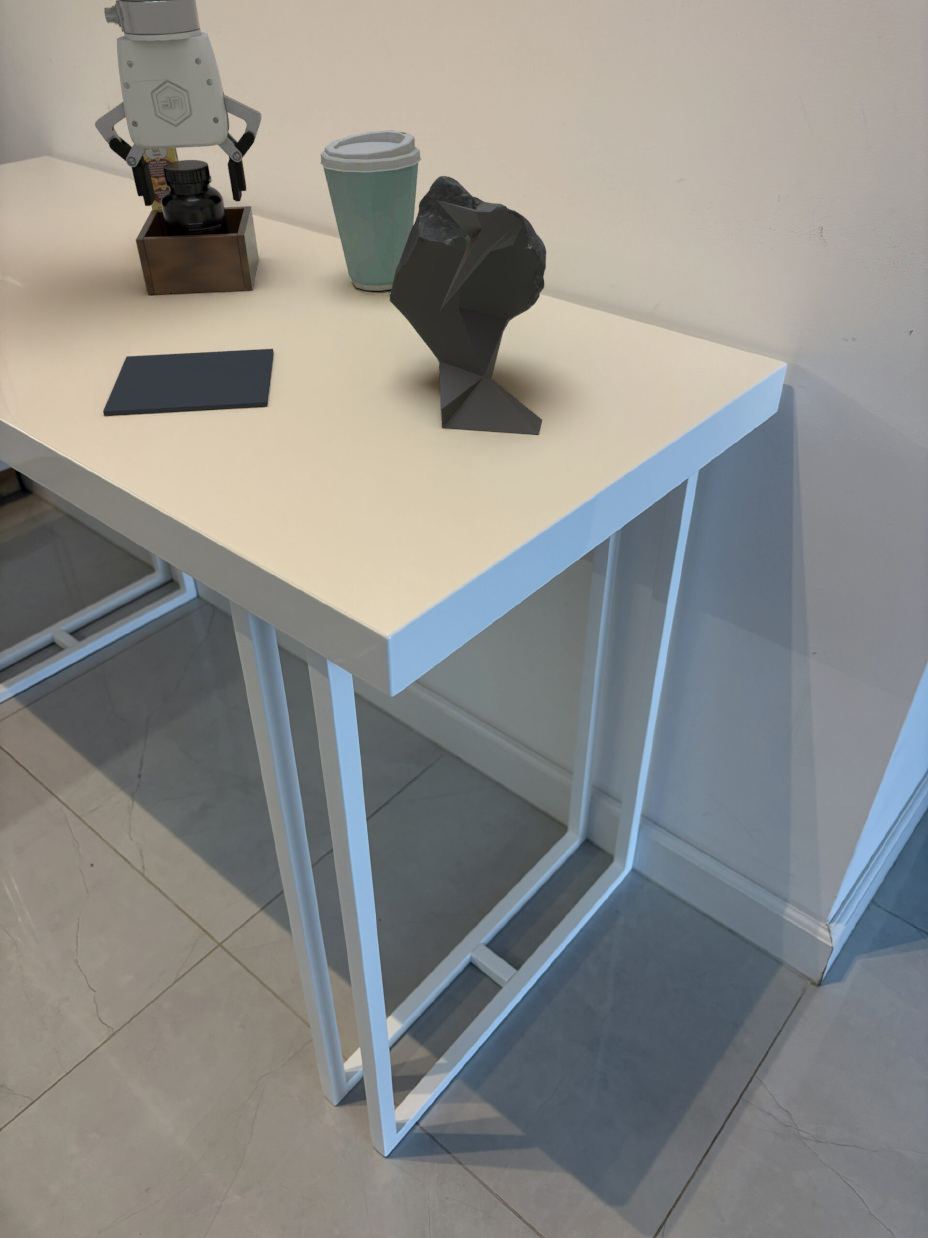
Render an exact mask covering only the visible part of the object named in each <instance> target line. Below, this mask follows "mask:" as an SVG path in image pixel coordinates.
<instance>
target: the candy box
mask: <svg viewBox="0 0 928 1238" xmlns="http://www.w3.org/2000/svg"><path fill="white" fill-rule="evenodd" d="M143 156H144V160H146V162H148V165H149V169H150V174H151V179H152V183H153V188H154V193H155V200H154V202H153V204H152V205H151V206H150V207H151V211H152V210H162V206H161V200H162V197H163V195H164V194H165V193H166V192H167V191H168V190H169V187H168V186H167V185H166V182H165V174H164V169H163V168H164V166H165V165H166V164H168V163H171V162H175V161H179V157H178V156H179V155H178V151H177V148H161V149H146V151H145V153H144V155H143Z"/></svg>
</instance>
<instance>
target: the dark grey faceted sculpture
mask: <svg viewBox="0 0 928 1238" xmlns="http://www.w3.org/2000/svg"><path fill="white" fill-rule="evenodd" d="M546 268H547V248H546V245H545V243H544V241H543V240H542V238H541V237H540V236H539V235H538V234H537V232H536V230H535V228H534V227H533V225H532V223H531V222H530V220H528V218H527V217H525V216H524V215H522V214H521V213H519V212H518V211H516V210H514V209H510V208H509V207H507V205H505V204H502V203H497V202H496V203H494V202H487V201H485V200H484V201H483V200H482V199H480V198H479V197H476V196H473V195H472V194H471V193H470V192H469V191H468V190H467V189H466V188H465V187H464V186H463V185H462V184H461V183H460V182H459V181H458V180H456V179H455V178H453V177H451V176H447V175H440V176H438V177H437V178H436V179H435V180H434V181H433V183H432V184H431V185H430V187H429V189H428V191H427V192H426V193H425V195H424V196H423V197H422V198H421V199H420V201H419V203H418V212H417V216H416V217H415V220H414V223H413V227H412V229H411V231H410V234H409V237H408V240H407V242H406V245H405V248H404V251H403V253H402V256H401V258H400V262H399V264H398V266H397V268H396V271H395V276H394V280H393V284H392V288H391V289H390V294H389V302H390V303H391V304H392V305H393V307H395V309H397V310H398V311H399V313H400V314H401V315H402V316H403V317H404V318H405V320H406V321H408V323H409V324H410V326H411V327H412V328H413V329H414V331H415V332H416V333H417V334H418V336H419V337H420V338H421V340H422V341H423V342H424V343H425V345H426V346H427V347H428V349H429V350H430V351H431V353H432V354H433V355H434V357H435V358H436V360H437V361H438V379H439V398H440V399H439V400H440V401H439V402H440V416H441V417H440V418H441V419H440V420H441V428H442V429H443V428H444V429H457V430H470V431H471V430H473V431H485V432H498V433H499V432H500V433H511V434H513V433H514V434H528V435H540V431H541V427H542V424H543V423H542V422H543V419H542V418H541V417H540V416H538V414H536V413H535V412H534V411H532V410H531V409H530V408H528V406H526V405H525V404H524V403H523V402H521V401H520V400H519V399H517V398H516V397H515V396H514V395H513V394H511V393H510V392H509V391H508V390H507V389H505V388H504V387H503V386H502V385H500V384H499V383H498V382H496V381H495V380H494V379H493V375H494V370H495V367H496V363H497V359H498V354H499V351H500V347H501V343H502V338H503V334H504V332H505V330H506V329H507V326H508V324H509V323H510V321H511V320H513V319H515V318H516V317H518V316H519V315H522V314H524V313H525V312H528V311H529V310H530V309H531V308H532V307H533V306H534V305H535V304H536V303H537V302H538V300H539V299H540V296H541V293H542V291H543V290H544V289H545V279H544V276H545V272H546Z"/></svg>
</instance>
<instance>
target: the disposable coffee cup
mask: <svg viewBox="0 0 928 1238" xmlns="http://www.w3.org/2000/svg"><path fill="white" fill-rule="evenodd" d="M415 140H416V139H415V136H413V135H412V134H410V133H409V132H406V131H401V130H394V129H389V130H377V131H368V132H363V133H358V134H352V135H347V136H345V137H342V138H339V139H336V140H332V141H331V142H330V143H328V144H327V145H325V147H324V150H323V151H321V153H320V165H321V166H322V167H323V171H324V176H325V180H326V184H327V188H328V193H329V197H330V201H331V205H332V209H333V214H334V218H335V222H336V226H337V231H338V235H339V239H340V243H341V247H342V252H343V256H344V260H345V264H346V267H347V273H348V277H349V278H350V279H351V283H352V284H353V286H354V287H355V288H357V289H360V290H363V291H373V292H374V291H378V292H380V291H381V292H383V291H388V290H390V291H391V288H392V284H393V280H394V276H395V271H396V268H397V266H398V264H399V262H400V258H401V256H402V253H403V251H404V248H405V245H406V242H407V240H408V237H409V234H410V231H411V229H412V227H413V225H414V223H415V209H416V197H417V183H418V174H419V162H420V161H422V158H421V150H420V149H419V148H418V147H416V141H415Z"/></svg>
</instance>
